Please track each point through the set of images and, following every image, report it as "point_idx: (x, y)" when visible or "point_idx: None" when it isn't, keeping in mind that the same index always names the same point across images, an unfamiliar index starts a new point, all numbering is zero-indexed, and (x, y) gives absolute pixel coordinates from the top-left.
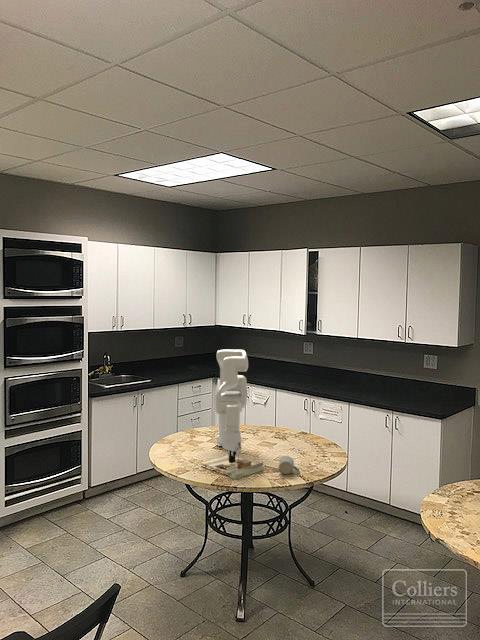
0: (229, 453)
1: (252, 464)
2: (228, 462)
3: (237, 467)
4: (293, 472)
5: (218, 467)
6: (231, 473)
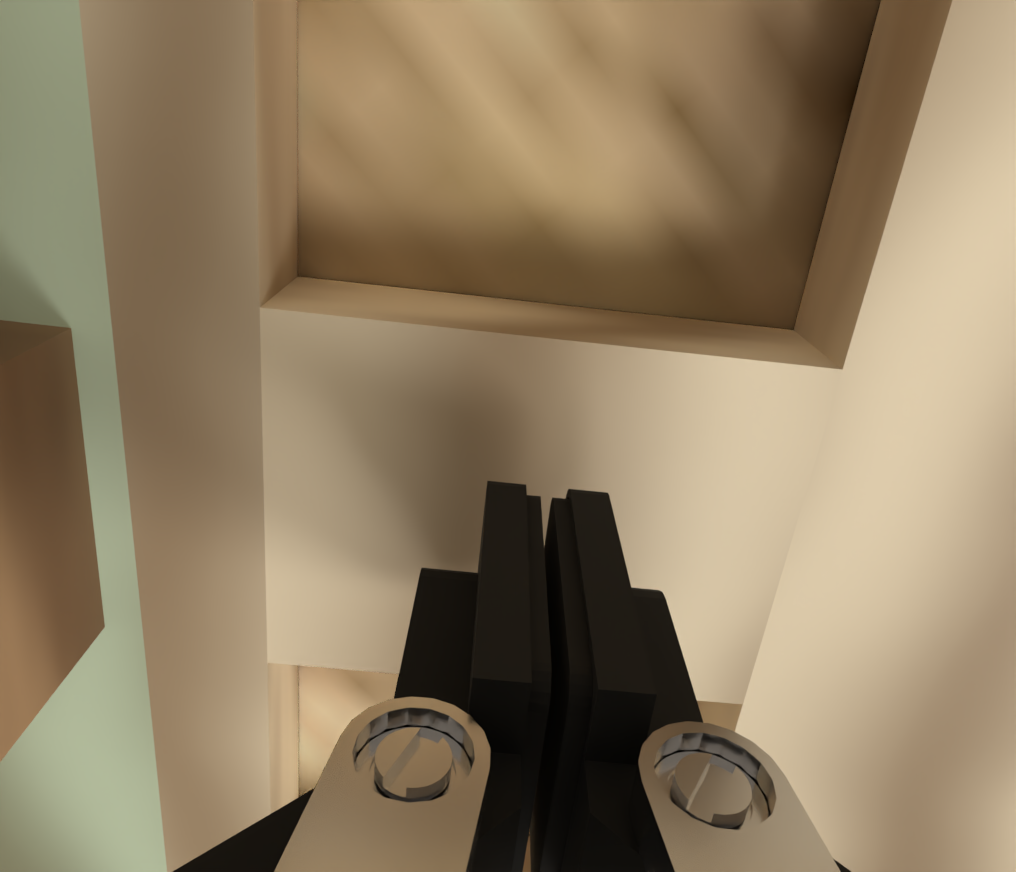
0: (650, 806)
1: (82, 846)
2: (739, 598)
3: (49, 340)
4: None
5: (863, 143)
6: None
